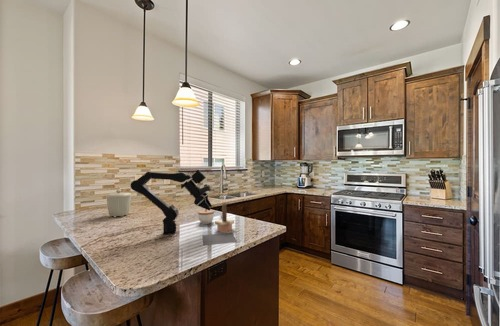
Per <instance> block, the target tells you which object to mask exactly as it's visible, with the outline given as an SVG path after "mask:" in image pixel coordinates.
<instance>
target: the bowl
mask: <svg viewBox="0 0 500 326" xmlns="http://www.w3.org/2000/svg"><path fill="white" fill-rule="evenodd" d="M216 226H217V232H220V233H229V232H231V231H232V230H233V224H231V225H223V226H222V225H216Z"/></svg>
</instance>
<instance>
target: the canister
mask: <svg viewBox="0 0 500 326" xmlns="http://www.w3.org/2000/svg"><path fill="white" fill-rule="evenodd" d="M115 191H116V192H111V193H108V194H106V195H105V198H106V203H107V211H108V212H107V213H108V215H109V216H110V217H111V216H122V217H125V216H124V215H126V216H128V215H127V214H129V213H130V208H131V199H132V195H133V193H130V192H122V189H116V190H115Z"/></svg>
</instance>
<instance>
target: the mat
mask: <svg viewBox="0 0 500 326" xmlns="http://www.w3.org/2000/svg"><path fill="white" fill-rule="evenodd" d="M201 238H202V246H211V245H213V246H214V245H222V244H232V243H238V241H237V238H236V237H235V235H234V233H233V232H221V233H213V234H202V236H201Z"/></svg>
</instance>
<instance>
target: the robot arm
mask: <svg viewBox="0 0 500 326" xmlns="http://www.w3.org/2000/svg"><path fill="white" fill-rule="evenodd" d="M206 178H207V177H206V175H205V174H204V173H203V172H202V171H200V170H199V169H197V170H196V171H195V172H194V173H193V174H192V175H191V174H188V173H186V172H183V171H182V172H175V173H173V172H172V173H171V172H170V173H168V172H155V171H154V172H153V171H147V172H145V174H143V175H141V176H140V177H139V178H138V179H136V180H132V181H131V183H130V188H131V190H133V191H135V192H136V193H138V194H141V195H143V196H144V197H145V198H146V199H148V200H149V201H150V202H151V203H153V205H155V207H157V208H158V209H159V210H161V211H162V213H163V216H164V217H165V218H164V219H162V225H163V227H162V228H163V233H162V235H168V234H169V235H170V234H175V233H176V232H177V223H176V219H177V217H178V216H179V214H180V213H179V210H178V207H175V205H174V204H171V205H169V204H167V203H166V202H165V201H164V200H162V199H161V198H160V197H159V196H158V195H157V194H155V193H154V192H153V191H152V190H151V189H150V188H149V187H148V184H147V183H149V181H150V180H152V179H153V180H154V179H155V180H166V181H167V180H169V181H172V182H178V183H181V184H180V189H184V188H185V189H186V190H187V192H189V195H190V196H192V197H193V198H194V201H193V204H194V205H195V206H197V207H200V208H202V209H204V210H205V209H207V210H211V208H212V207H213V205H212V203H211V202H210V199H209V193H208V192H210V191H211V190H212V188H211V186H210V184H207V183H206V184H204V185H203V186H202V187H200V186H197V184H198V185H199V184H202V182H203V181H204V180H205V179H206ZM188 180H189V181H188Z"/></svg>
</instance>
